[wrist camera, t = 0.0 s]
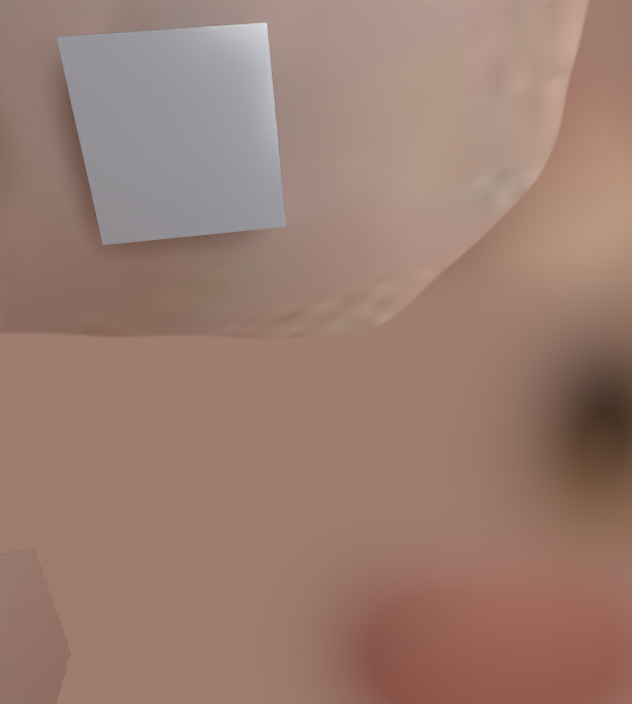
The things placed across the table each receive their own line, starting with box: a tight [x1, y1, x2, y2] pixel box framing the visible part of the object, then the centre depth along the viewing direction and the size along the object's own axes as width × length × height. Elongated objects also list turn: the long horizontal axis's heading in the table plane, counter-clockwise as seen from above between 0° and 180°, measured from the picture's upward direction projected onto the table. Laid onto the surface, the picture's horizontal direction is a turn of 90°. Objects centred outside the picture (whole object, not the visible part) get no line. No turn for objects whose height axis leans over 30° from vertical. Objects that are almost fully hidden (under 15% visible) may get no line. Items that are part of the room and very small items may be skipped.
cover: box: [56, 22, 286, 245], centre depth 30 cm, size 9×9×9 cm
